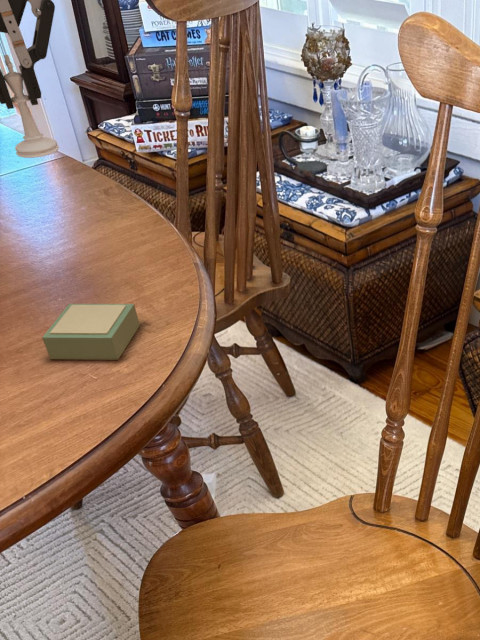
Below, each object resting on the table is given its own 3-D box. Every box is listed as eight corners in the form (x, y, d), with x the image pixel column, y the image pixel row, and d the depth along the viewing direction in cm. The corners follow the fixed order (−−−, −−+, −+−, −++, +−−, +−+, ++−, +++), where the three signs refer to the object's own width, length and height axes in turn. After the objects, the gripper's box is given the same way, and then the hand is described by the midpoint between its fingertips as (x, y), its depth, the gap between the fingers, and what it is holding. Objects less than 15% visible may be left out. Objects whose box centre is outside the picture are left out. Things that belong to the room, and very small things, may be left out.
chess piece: (22, 160, 91) (-13, 63, 84) (12, 150, 94) (-22, 55, 87) (64, 151, 93) (34, 55, 86) (53, 141, 96) (23, 47, 89)
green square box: (50, 359, 89) (41, 335, 87) (76, 324, 95) (68, 301, 93) (118, 360, 88) (110, 336, 86) (140, 325, 94) (133, 302, 92)
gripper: (26, -94, 83) (77, 89, 95) (-117, -83, 79) (-45, 107, 90) (36, -88, 78) (89, 104, 90) (-116, -76, 74) (-40, 123, 85)
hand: (21, 104), depth 90 cm, fingers closed on chess piece
